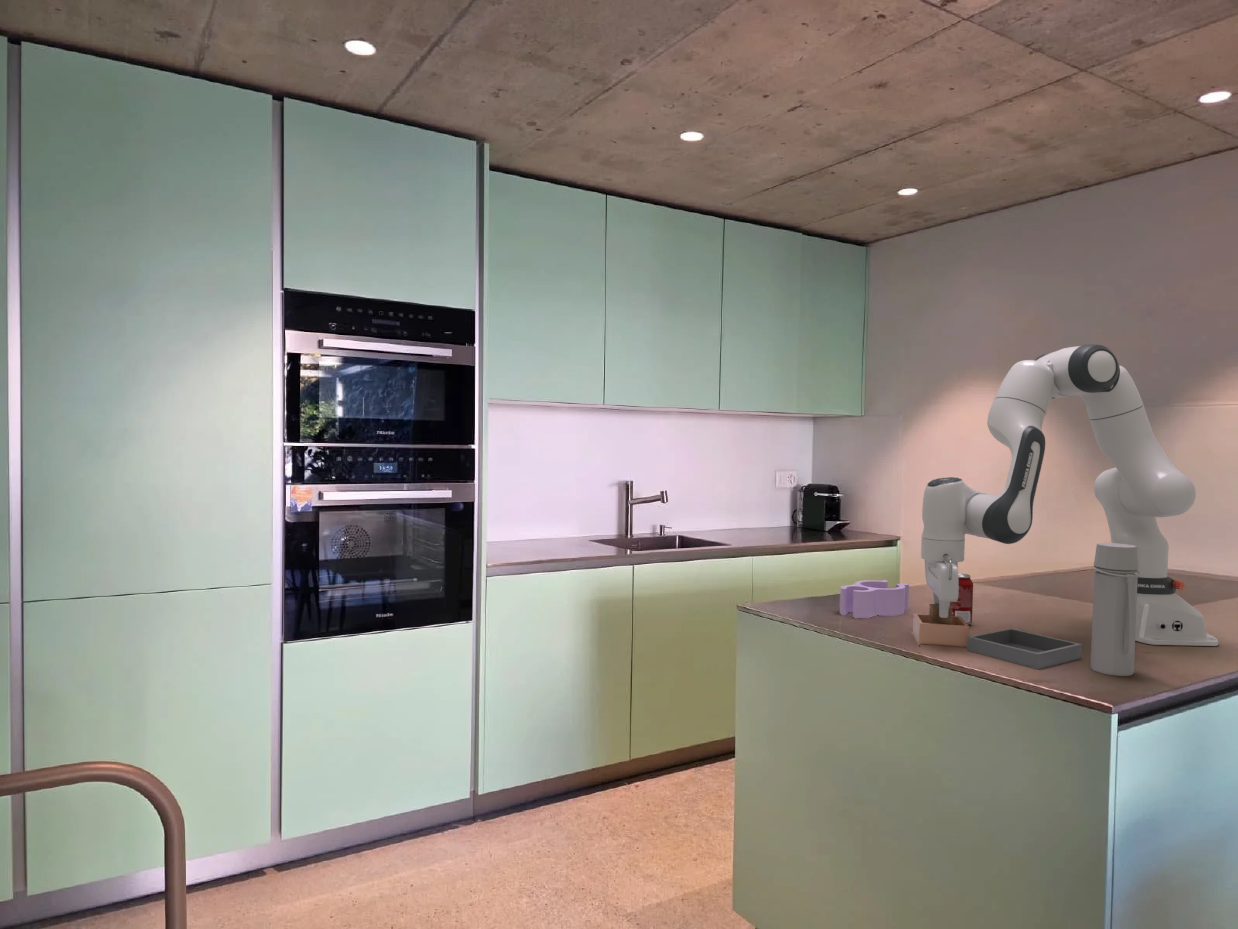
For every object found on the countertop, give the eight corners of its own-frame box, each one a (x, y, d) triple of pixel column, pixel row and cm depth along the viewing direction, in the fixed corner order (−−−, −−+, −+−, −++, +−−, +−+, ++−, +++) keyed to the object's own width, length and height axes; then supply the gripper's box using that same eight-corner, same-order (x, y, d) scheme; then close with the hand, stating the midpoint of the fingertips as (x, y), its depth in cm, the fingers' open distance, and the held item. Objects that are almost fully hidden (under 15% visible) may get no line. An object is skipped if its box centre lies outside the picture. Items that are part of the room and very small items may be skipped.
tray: (1010, 644, 178) (1010, 628, 178) (1081, 661, 165) (1081, 644, 165) (966, 653, 170) (967, 636, 169) (1038, 672, 157) (1038, 654, 156)
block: (947, 631, 180) (948, 604, 180) (951, 636, 176) (952, 608, 176) (928, 630, 181) (929, 603, 180) (931, 634, 177) (932, 607, 176)
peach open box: (959, 638, 182) (960, 616, 182) (968, 649, 172) (969, 626, 172) (912, 635, 184) (913, 613, 184) (918, 646, 174) (919, 623, 174)
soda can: (974, 628, 192) (976, 578, 192) (944, 626, 194) (946, 576, 193) (968, 621, 199) (970, 573, 198) (939, 620, 200) (940, 571, 200)
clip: (868, 622, 198) (869, 594, 197) (827, 612, 208) (828, 585, 207) (917, 612, 209) (917, 586, 209) (876, 603, 219) (877, 578, 219)
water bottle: (1080, 668, 160) (1085, 542, 159) (1119, 668, 160) (1124, 542, 159) (1109, 682, 151) (1114, 549, 150) (1151, 683, 151) (1156, 549, 150)
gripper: (967, 559, 167) (965, 625, 167) (949, 546, 187) (948, 605, 187) (934, 557, 168) (933, 623, 169) (920, 544, 188) (919, 604, 189)
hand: (940, 614), depth 178 cm, fingers open, 5 cm apart
